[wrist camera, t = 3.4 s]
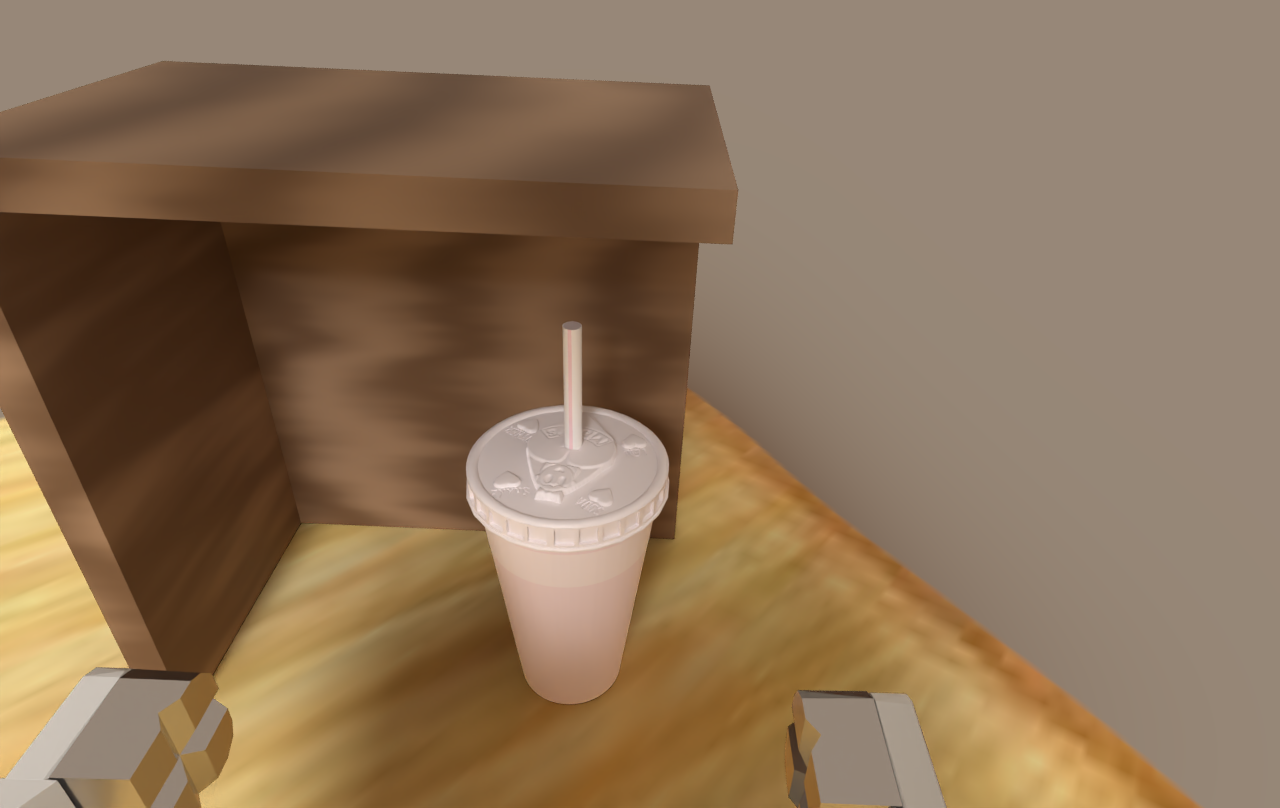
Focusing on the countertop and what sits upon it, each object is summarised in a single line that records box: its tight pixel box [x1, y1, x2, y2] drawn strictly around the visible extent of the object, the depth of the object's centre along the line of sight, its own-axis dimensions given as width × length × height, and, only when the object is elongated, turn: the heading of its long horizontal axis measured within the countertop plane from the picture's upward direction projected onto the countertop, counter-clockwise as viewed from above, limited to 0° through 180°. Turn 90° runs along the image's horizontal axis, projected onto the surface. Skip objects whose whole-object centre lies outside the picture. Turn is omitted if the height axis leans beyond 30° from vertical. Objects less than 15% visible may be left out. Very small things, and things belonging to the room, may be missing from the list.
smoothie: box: [466, 321, 669, 704], centre depth 25 cm, size 6×6×14 cm
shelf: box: [0, 61, 738, 675], centre depth 26 cm, size 18×11×19 cm, turn 89°
